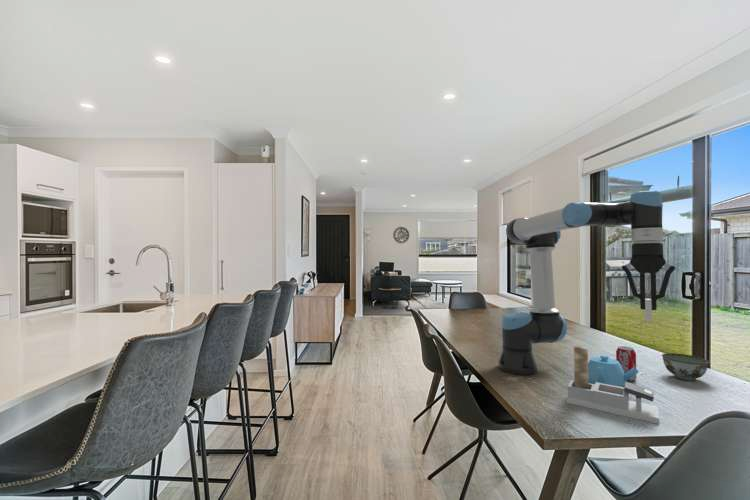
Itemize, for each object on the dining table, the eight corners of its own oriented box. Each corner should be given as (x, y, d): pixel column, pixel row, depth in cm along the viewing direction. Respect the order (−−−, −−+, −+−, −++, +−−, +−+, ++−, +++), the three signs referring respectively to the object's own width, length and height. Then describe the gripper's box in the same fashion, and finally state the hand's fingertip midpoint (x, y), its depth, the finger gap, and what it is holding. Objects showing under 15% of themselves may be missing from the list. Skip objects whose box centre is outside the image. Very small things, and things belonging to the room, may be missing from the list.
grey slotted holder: (567, 402, 112) (566, 386, 112) (572, 393, 120) (571, 377, 120) (659, 423, 98) (658, 404, 98) (657, 411, 106) (657, 393, 106)
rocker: (623, 391, 104) (624, 386, 104) (624, 385, 109) (625, 381, 109) (652, 401, 100) (654, 396, 100) (652, 395, 105) (653, 390, 105)
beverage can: (640, 382, 129) (639, 350, 130) (621, 381, 131) (620, 349, 131) (631, 376, 136) (630, 346, 136) (613, 375, 137) (612, 345, 137)
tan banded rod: (573, 396, 113) (572, 347, 114) (575, 392, 117) (574, 345, 117) (588, 399, 111) (587, 349, 111) (589, 395, 114) (588, 347, 115)
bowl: (660, 378, 133) (660, 358, 133) (663, 370, 143) (662, 351, 143) (710, 387, 124) (709, 365, 124) (708, 378, 133) (708, 357, 133)
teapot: (595, 394, 118) (595, 361, 119) (573, 380, 132) (573, 350, 132) (640, 394, 118) (639, 361, 118) (613, 380, 132) (613, 350, 132)
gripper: (619, 243, 105) (621, 320, 104) (676, 241, 97) (678, 325, 96) (621, 243, 111) (622, 316, 110) (674, 242, 103) (676, 321, 102)
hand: (648, 320), depth 103 cm, fingers closed
